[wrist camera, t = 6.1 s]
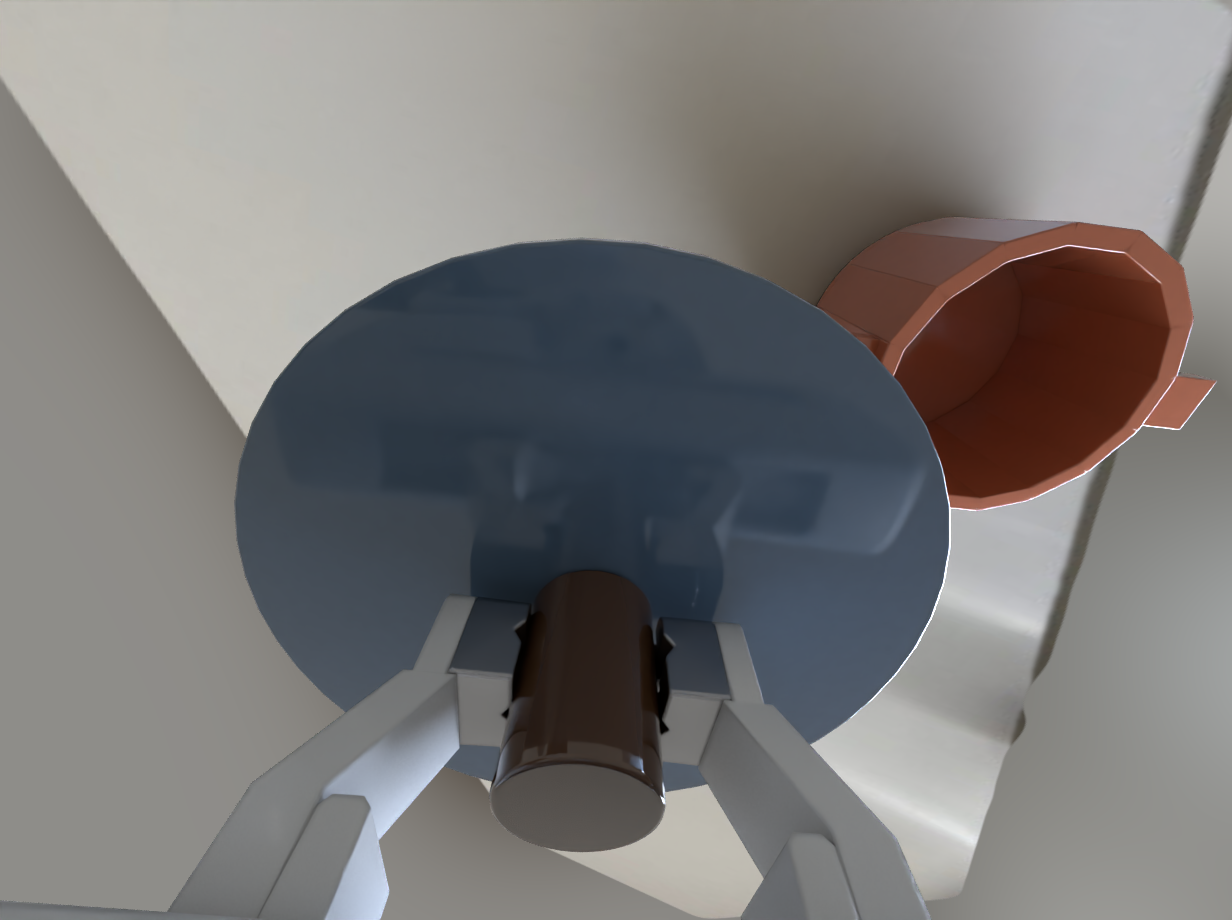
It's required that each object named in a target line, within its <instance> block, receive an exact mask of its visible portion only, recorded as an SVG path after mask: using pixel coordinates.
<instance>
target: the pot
mask: <svg viewBox="0 0 1232 920" xmlns="http://www.w3.org/2000/svg"><path fill="white" fill-rule="evenodd" d="M816 307H817V308H819V309H821V310H823V311H824V312H825V313H826V314H828V315H829V316H830V317H831V318H833V319H834V320H835V321H836V322H838V323H839V324H840V325H841V326H843V327H844V328H845V329H846V330H848V331H849V332H850V333H851V334H853V335H854V336H855V337H856V338H858V339H859V340H860V341H861V342H863V343H864V344H865V345H866V346H867V347H868V348H869V349H870V350H871V351H872V352H873V354H874V355H875V356H876V357H877V358H878V359H879V360H880V361H881V362H882V364H883V365H884V366H885V367H886V368H887V369H888V370H889V371H890V373H891V374H892V375H893V376H894V377H895V378H896V379H897V380H898V381H899V383H900V384H901V385H902V387H903V389H904V390H905V392H906V393H907V395H908V397H909V398H910V400H911V401H912V403H913V405H914V406H915V408H916V409H917V411H918V413H919V414H920V416H921V417H922V419H923V421H924V422H925V424H926V426H927V429H928V431H929V434H930V436H931V439H932V442H933V444H934V447H935V449H936V452H937V454H938V457H939V459H940V462H941V464H942V468H943V473H944V479H945V484H946V489H947V494H948V499H949V504H950V508H953V509H962V510H971V511H975V510H976V511H980V510H985V509H990V508H995V507H1000V506H1005V505H1010V504H1015V503H1019V502H1024V501H1029V500H1031V499H1034V498H1036V497H1038V496H1040V495H1042V494H1044V493H1046V492H1048V491H1050V490H1052V489H1054V488H1056V487H1059V486H1061V485H1063V484H1065V483H1067V482H1069V481H1071V480H1073V479H1075V478H1077V477H1079V476H1081V475H1083V474H1085V473H1086V472H1089V471H1090V470H1091V469H1092V468H1093V467H1095V466H1096V465H1097V464H1098V463H1099V462H1101V461H1102V460H1103V459H1104V458H1106V457H1107V456H1108V455H1109V454H1110V453H1112V452H1113V451H1114V450H1115V449H1117V448H1118V447H1119V446H1120V445H1121V444H1123V443H1124V442H1125V441H1126V440H1127V439H1129V438H1130V437H1131V436H1132V435H1134V434H1135V433H1136V432H1137V431H1136V430H1139V429H1140V428H1141V426H1151V427H1159V428H1167V429H1176V430H1180V429H1181V427H1182V426H1183V425H1184V423H1185V422H1186V421H1187V420H1188V418H1189V417H1190V416H1191V414H1192V413H1193V412H1194V410H1195V409H1196V408H1197V407H1198V405H1199V404H1200V403H1201V401H1202V400H1203V399H1204V397H1205V396H1206V394H1208V392H1209V391H1210V390H1211V388H1212V387H1213V386H1214V385H1215V383H1216V381H1215V380H1212V379H1209V378H1205V377H1202V376H1199V375H1195V374H1189V373H1181V372H1179V368H1180V365H1181V362H1182V358H1183V355H1184V352H1185V348H1186V345H1187V342H1188V338H1189V335H1190V332H1191V328H1192V325H1193V322H1194V321H1193V320H1194V316H1193V311H1192V307H1191V302H1190V297H1189V292H1188V287H1187V282H1186V277H1185V272H1184V268H1183V267H1182V265H1181V264H1179V263H1178V262H1177V261H1176V260H1175V259H1174V258H1172V257H1171V256H1170V255H1169V254H1168V253H1167V252H1166V251H1164V250H1163V249H1162V248H1161V247H1160V246H1159V245H1158V244H1156V243H1155V242H1154V241H1153V240H1152V239H1151V238H1150V237H1148V236H1147V235H1146V234H1145V233H1144V232H1143V231H1140V230H1134V229H1127V228H1119V227H1112V226H1105V225H1097V224H1090V223H1083V222H1067V221H1041V220H1015V219H989V218H962V217H944V218H940V219H937V220H930V221H925V222H921V223H916V224H913V225H910V226H907V227H905V228H902V229H899V230H897V231H895V232H893V233H891V234H889V235H887V236H885V237H883V238H881V239H879V240H878V241H876V242H875V243H873V244H872V245H870V246H868V247H867V248H866V249H864V250H863V251H862V252H861V253H859V254H858V255H857V256H856V257H854V258H853V259H852V260H851V261H850V262H849V263H848V264H847V265H846V266H845V267H844V268H843V269H842V270H841V271H840V272H839V274H838V275H837V276H836V277H835V278H834V280H833V281H832V282H831V283H830V285H829V286H828V288H827V289H826V291H825V292H824V294H823V295H822V297H821V298H820V300H819V302H818V304H817V306H816Z"/></svg>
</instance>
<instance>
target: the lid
mask: <svg viewBox="0 0 1232 920" xmlns="http://www.w3.org/2000/svg"><path fill="white" fill-rule="evenodd" d="M234 507H235V523H236V539H237V545H238V549H239V553H240V557H241V562H242V566H243V570H244V574H245V578H246V580H247V583H248V585H249V587H250V590H251V592H252V595H253V597H254V600H255V602H256V605H257V607H258V609H259V611H260V613H261V615H262V617H263V618H264V620H265V622H266V623H267V625H268V627H269V628H270V630H271V632H272V634H273V635H274V637H275V639H276V640H277V642H278V643H279V644H280V646H281V647H282V648H283V649H284V651H285V652H286V653H287V655H288V656H289V657H290V659H291V660H292V661H293V662H294V664H295V665H296V666H297V668H298V669H299V670H300V671H301V672H302V673H303V674H304V675H305V676H306V677H307V678H308V679H309V680H310V681H311V682H312V683H313V684H314V685H315V686H316V687H317V688H318V689H319V690H320V691H321V692H322V693H323V694H324V695H325V696H326V697H328V698H329V699H330V700H331V701H332V702H334V703H335V704H336V705H337V706H338V707H340V708H341V709H342V710H343V711H344V712H347V711H348V710H350V709H351V708H352V707H354V706H355V705H356V704H358V703H359V702H360V701H362V700H363V699H364V698H366V697H367V696H368V695H370V694H371V693H372V692H374V691H375V690H376V689H378V688H379V687H380V686H382V685H383V684H384V683H386V682H387V681H389V680H390V679H391V678H393V677H394V676H395V675H397V674H398V673H399V672H401V671H402V670H403V669H406V670H413V668H414V665H415V663H416V661H417V659H418V657H419V655H420V652H421V650H422V648H423V646H424V644H425V642H426V639H427V637H428V635H429V633H430V631H431V629H432V626H433V624H434V622H435V620H436V618H437V616H438V613H439V611H440V609H441V607H442V605H443V603H444V600H445V599H446V598H447V597H448V596H449V595H450V594H458V595H466V596H474V597H485V598H493V599H500V600H508V601H516V602H524V603H531V604H532V615H531V620H530V624H529V629H528V633H527V638H526V643H525V645H524V648H523V651H522V653H521V659H520V669H519V673H518V678H517V682H516V686H515V691H514V695H513V699H512V703H511V705H510V707H509V710H508V714H507V719H506V723H505V727H504V732H503V736H502V740H501V745H500V747H494V746H477V745H460V744H459V749H458V750H457V751H456V753H455V754H454V755H453V756H452V757H451V758H450V759H449V761H448V762H447V763H446V764H445V765H444V767H447V768H450V769H452V770H455V771H458V772H461V773H464V774H467V775H470V776H473V777H477V778H481V779H484V780H488V781H492V784H491V788H490V794H489V799H490V807H491V811H492V814H493V816H494V817H495V819H496V820H497V821H498V822H499V824H500V825H501V826H502V827H503V828H505V829H506V830H507V831H508V832H510V833H511V834H513V835H515V836H516V837H518V838H520V839H522V840H524V841H527V842H529V843H532V844H535V845H538V846H542V847H546V848H550V849H555V850H561V851H570V852H595V851H604V850H611V849H615V848H620V847H623V846H626V845H629V844H632V843H634V842H637V841H639V840H641V839H642V838H644V837H646V836H647V835H649V834H650V833H651V832H652V831H654V830H655V829H656V828H657V826H658V825H659V824H660V822H661V820H662V818H663V815H664V812H665V807H666V798H665V792H668V791H674V790H680V789H686V788H692V787H698V786H702V785H706V784H707V782H706V781H705V779H704V777H703V776H702V774H701V772H700V771H699V769H698V768H699V766H696V765H687V764H679V763H671V762H663V756H662V742H661V728H660V714H659V701H658V687H657V673H656V659H655V644H656V634H655V630H656V626H657V622H658V620H659V618H660V616H661V617H671V618H682V619H693V620H704V621H711V622H723V623H734V624H739V625H740V626H741V627H742V629H743V632H744V636H745V639H746V643H747V646H748V649H749V653H750V656H751V660H752V663H753V666H754V670H755V673H756V677H757V680H758V684H759V687H760V690H761V694H762V697H763V701H764V704H768V705H773V706H774V707H775V708H776V709H777V710H778V711H779V712H780V713H781V714H782V715H783V717H784V718H785V719H786V720H787V721H788V722H789V723H790V724H791V725H792V726H793V727H794V728H795V729H796V731H797V732H798V733H799V734H800V735H801V736H802V737H803V738H804V739H805V740H806V741H807V742H808V743H809V745H810V744H812V743H814V742H816V741H818V740H819V739H821V738H822V737H824V736H825V735H827V734H828V733H830V732H831V731H833V730H834V729H836V728H837V727H839V726H840V725H842V724H843V723H845V722H846V721H848V720H849V719H850V718H851V717H852V716H853V715H855V714H856V713H857V712H858V711H859V710H861V709H862V708H863V707H864V706H865V705H867V704H868V703H869V702H870V701H871V700H873V699H874V697H875V696H876V695H877V694H878V693H879V692H880V691H881V690H882V689H883V688H884V687H885V686H886V685H887V684H888V683H889V682H890V680H891V679H892V678H893V677H894V676H895V675H896V674H897V673H898V671H899V670H900V668H901V667H902V666H903V664H904V663H905V662H906V660H907V659H908V657H909V656H910V655H911V653H912V652H913V651H914V649H915V648H916V646H917V644H918V642H919V641H920V639H921V637H922V635H923V633H924V631H925V629H926V627H927V626H928V624H929V622H930V620H931V618H932V616H933V613H934V610H935V607H936V605H937V602H938V599H939V596H940V593H941V590H942V587H943V584H944V581H945V575H946V569H947V563H948V557H949V551H950V504H949V499H948V494H947V489H946V484H945V479H944V473H943V468H942V464H941V462H940V459H939V457H938V454H937V452H936V449H935V447H934V444H933V442H932V439H931V436H930V434H929V431H928V429H927V426H926V424H925V422H924V421H923V419H922V417H921V416H920V414H919V413H918V411H917V409H916V408H915V406H914V405H913V403H912V401H911V400H910V398H909V397H908V395H907V393H906V392H905V390H904V389H903V387H902V385H901V384H900V383H899V381H898V380H897V379H896V378H895V377H894V376H893V375H892V374H891V373H890V371H889V370H888V369H887V368H886V367H885V366H884V365H883V364H882V362H881V361H880V360H879V359H878V358H877V357H876V356H875V355H874V354H873V352H872V351H871V350H870V349H869V348H868V347H867V346H866V345H865V344H864V343H863V342H861V341H860V340H859V339H858V338H856V337H855V336H854V335H853V334H851V333H850V332H849V331H848V330H846V329H845V328H844V327H843V326H841V325H840V324H839V323H838V322H836V321H835V320H834V319H833V318H831V317H830V316H829V315H828V314H826V313H825V312H824V311H823V310H821V309H819V308H817V307H816V306H814V305H812V304H810V303H809V302H807V301H805V300H803V299H802V298H800V297H798V296H796V295H794V294H793V293H791V292H789V291H787V290H786V289H784V288H782V287H780V286H779V285H777V284H775V283H773V282H771V281H770V280H768V279H765V278H763V277H761V276H759V275H756V274H753V273H751V272H748V271H746V270H743V269H740V268H738V267H735V266H732V265H730V264H727V263H724V262H722V261H719V260H717V259H714V258H711V257H709V256H706V255H702V254H698V253H693V252H689V251H684V250H679V249H675V248H670V247H666V246H661V245H657V244H652V243H647V242H640V241H625V240H611V239H597V238H583V237H581V238H568V239H554V240H541V241H527V242H518V243H514V244H509V245H505V246H500V247H496V248H491V249H487V250H483V251H478V252H474V253H469V254H465V255H461V256H457V257H453V258H450V259H448V260H445V261H442V262H440V263H437V264H435V265H432V266H430V267H427V268H425V269H422V270H420V271H417V272H414V273H412V274H409V275H407V276H404V277H402V278H399V279H397V280H394V281H392V282H391V283H389V284H387V285H386V286H384V287H382V288H381V289H379V290H377V291H376V292H374V293H372V294H371V295H369V296H367V297H366V298H364V299H362V300H361V301H359V302H357V303H355V304H354V305H352V306H350V307H349V308H347V309H345V310H344V311H343V312H342V313H341V314H339V315H338V316H337V317H336V318H335V319H334V320H332V321H331V322H330V323H329V324H328V325H327V326H325V327H324V328H323V329H322V330H321V331H320V332H318V333H317V334H316V335H315V336H314V337H313V338H311V339H310V340H309V341H308V342H307V343H306V344H305V345H304V346H303V347H302V348H301V349H300V351H299V352H298V353H297V354H296V356H295V357H294V358H293V359H292V360H291V362H290V363H289V364H288V365H287V367H286V368H285V369H284V370H283V371H282V373H281V374H280V375H279V376H278V378H277V379H276V380H275V381H274V383H273V385H272V387H271V388H270V390H269V392H268V394H267V396H266V398H265V399H264V401H263V403H262V405H261V407H260V409H259V410H258V412H257V414H256V416H255V418H254V420H253V421H252V424H251V427H250V430H249V433H248V436H247V440H246V443H245V446H244V449H243V453H242V455H241V458H240V462H239V467H238V475H237V484H236V492H235V500H234Z"/></svg>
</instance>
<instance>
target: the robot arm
mask: <svg viewBox="0 0 1232 920" xmlns="http://www.w3.org/2000/svg"><path fill="white" fill-rule="evenodd" d="M531 615H532V604H531V603H524V602H516V601H508V600H500V599H493V598H485V597H474V596H466V595H458V594H450V595H449V596H448V597H447V598H446V599H445V600H444V603H443V605H442V607H441V609H440V611H439V613H438V616H437V618H436V620H435V622H434V624H433V626H432V629H431V631H430V633H429V635H428V637H427V639H426V642H425V644H424V646H423V648H422V650H421V652H420V655H419V657H418V659H417V661H416V663H415V665H414V668H413V670H406V669H403V670H402V671H401V672H399V673H398V674H397V675H395V676H394V677H393V678H391V679H390V680H389V681H387V682H386V683H384V684H383V685H382V686H380V687H379V688H378V689H376V690H375V691H374V692H372V693H371V694H370V695H368V696H367V697H366V698H364V699H363V700H362V701H360V702H359V703H358V704H356V705H355V706H354V707H352V708H351V709H350V710H348V711H347V712H346V713H344V714H343V715H342V716H340V717H339V718H338V719H337V720H335V721H334V722H332V723H331V724H330V725H328V726H327V727H326V728H324V729H323V730H322V731H320V732H319V733H318V734H316V735H315V736H314V737H312V738H311V739H310V740H308V741H307V742H306V743H304V744H303V745H302V746H300V747H299V748H297V749H296V750H295V751H294V752H292V753H291V754H289V755H288V756H287V757H285V758H284V759H283V760H282V761H280V762H279V763H278V764H276V765H275V766H273V767H272V768H271V769H269V770H268V771H267V772H266V773H264V774H263V775H261V776H260V777H259V778H257V779H256V780H255V781H253V782H252V783H251V784H250V786H249V787H248V789H247V790H246V792H245V794H244V795H243V797H242V798H241V800H240V801H239V803H238V804H237V806H236V807H235V809H234V810H233V812H232V814H231V815H230V816H229V818H228V820H227V821H226V823H225V824H224V826H223V827H222V829H221V830H220V832H219V833H218V835H217V836H216V838H215V839H214V841H213V842H212V844H211V845H210V847H209V848H208V850H207V851H206V853H205V855H204V856H203V858H202V859H201V861H200V862H199V864H198V865H197V867H196V868H195V870H194V871H193V873H192V875H191V876H190V877H189V879H188V880H187V882H186V884H185V885H184V887H183V888H182V890H181V891H180V893H179V894H178V896H177V897H176V899H175V900H174V902H173V903H172V905H171V906H170V908H169V910H168V911H167V912H157V911H142V910H128V909H115V908H101V907H86V906H72V905H57V904H43V903H29V902H15V901H14V902H13V901H1V900H0V920H380V919H381V915H382V913H383V910H384V907H385V903H386V901H387V897H388V894H389V887H388V883H387V879H386V874H385V869H384V865H383V860H382V856H381V851H380V846H379V842H378V840H379V839H380V838H381V837H382V836H383V835H384V833H385V832H386V831H387V830H388V829H389V828H390V827H391V825H392V824H393V823H394V822H395V821H396V820H397V819H398V818H399V816H400V815H401V814H402V813H403V812H404V811H405V810H406V808H407V807H408V806H409V805H410V804H411V803H412V802H413V800H414V799H415V798H416V797H417V796H418V795H419V793H420V792H421V791H422V790H423V789H424V788H425V787H426V786H427V784H428V783H429V782H430V781H431V780H432V779H433V778H434V777H435V775H436V774H437V773H438V772H439V771H440V770H441V769H442V767H443V766H444V765H445V764H446V763H447V762H448V761H449V759H450V758H451V757H452V756H453V755H454V754H455V753H456V751H457V750H458V749H459V744H460V745H477V746H494V747H500V745H501V740H502V736H503V732H504V727H505V723H506V719H507V714H508V710H509V707H510V705H511V703H512V699H513V695H514V691H515V686H516V682H517V678H518V673H519V669H520V659H521V653H522V651H523V648H524V645H525V643H526V638H527V633H528V629H529V624H530V620H531ZM655 634H656V644H655V659H656V673H657V687H658V701H659V714H660V728H661V742H662V756H663V762H671V763H679V764H687V765H696V766H699V768H698V769H699V771H700V772H701V774H702V776H703V777H704V779H705V781H706V782H707V784H708V786H709V787H710V789H711V791H712V792H713V794H714V796H715V797H716V799H717V801H718V802H719V804H720V806H721V808H722V809H723V811H724V813H725V814H726V816H727V818H728V819H729V821H730V823H731V824H732V826H733V828H734V829H735V831H736V833H737V834H738V836H739V838H740V839H741V841H742V843H743V844H744V846H745V848H746V849H747V851H748V853H749V854H750V856H751V858H752V859H753V861H754V863H755V864H756V866H757V868H758V869H759V871H760V873H761V874H762V876H763V878H764V880H763V881H762V883H761V885H760V886H759V888H758V889H757V891H756V893H755V894H754V896H753V898H752V899H751V901H750V902H749V904H748V906H747V907H746V909H745V911H744V912H743V914H742V916H741V920H932V919H931V916H930V914H929V912H928V909H927V907H926V905H925V903H924V900H923V898H922V896H921V893H920V891H919V889H918V886H917V884H916V882H915V879H914V877H913V875H912V873H911V870H910V868H909V866H908V863H907V861H906V859H905V856H904V854H903V852H902V850H901V847H900V845H899V843H898V840H897V838H896V837H895V836H894V835H893V834H892V833H891V832H890V831H889V830H888V828H887V827H886V826H885V825H884V824H883V823H882V822H881V821H880V820H879V819H878V818H877V817H876V816H875V814H874V813H873V812H872V811H871V810H870V809H869V808H868V807H867V806H866V805H865V804H864V803H863V802H862V800H861V799H860V798H859V797H858V796H857V795H856V794H855V793H854V792H853V791H852V790H851V789H850V788H849V786H848V785H847V784H846V783H845V782H844V781H843V780H842V779H841V778H840V777H839V776H838V775H837V774H836V772H835V771H834V770H833V769H832V768H831V767H830V766H829V765H828V764H827V763H826V762H825V761H824V760H823V758H822V757H821V756H820V755H819V754H818V753H817V752H816V751H815V750H814V749H813V748H812V747H811V746H810V745H809V743H808V742H807V741H806V740H805V739H804V738H803V737H802V736H801V735H800V734H799V733H798V732H797V731H796V729H795V728H794V727H793V726H792V725H791V724H790V723H789V722H788V721H787V720H786V719H785V718H784V717H783V715H782V714H781V713H780V712H779V711H778V710H777V709H776V708H775V707H774V706H773V705H768V704H764V701H763V697H762V694H761V690H760V687H759V684H758V680H757V677H756V673H755V670H754V666H753V663H752V660H751V656H750V653H749V649H748V646H747V643H746V639H745V636H744V632H743V629H742V627H741V626H740V625H739V624H734V623H723V622H711V621H704V620H693V619H682V618H671V617H661V616H660V618H659V620H658V622H657V626H656V630H655Z"/></svg>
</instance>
